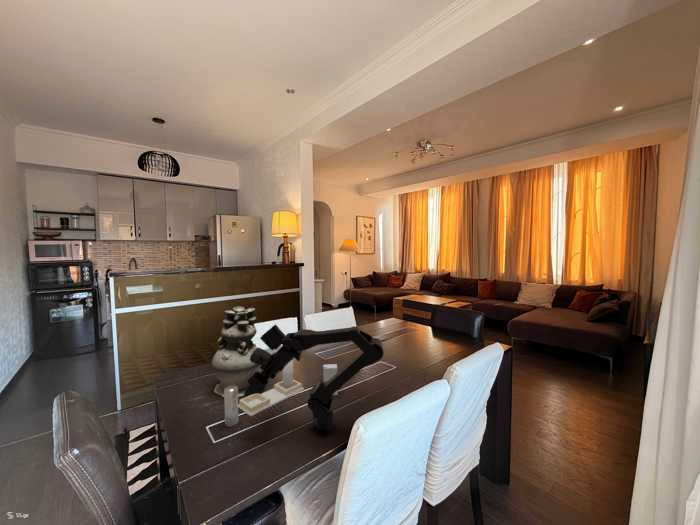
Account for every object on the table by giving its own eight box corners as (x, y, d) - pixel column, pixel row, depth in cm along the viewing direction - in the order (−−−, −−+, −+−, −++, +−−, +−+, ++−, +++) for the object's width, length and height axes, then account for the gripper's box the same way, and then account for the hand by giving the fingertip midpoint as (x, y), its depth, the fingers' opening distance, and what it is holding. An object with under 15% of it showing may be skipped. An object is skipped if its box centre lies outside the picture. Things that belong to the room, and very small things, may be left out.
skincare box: (337, 390, 123) (337, 363, 122) (338, 395, 118) (338, 367, 117) (323, 391, 122) (323, 363, 121) (323, 396, 118) (323, 368, 117)
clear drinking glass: (240, 422, 100) (240, 388, 100) (228, 428, 97) (227, 393, 96) (234, 417, 103) (233, 384, 102) (222, 423, 100) (221, 388, 99)
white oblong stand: (303, 389, 123) (303, 360, 122) (250, 416, 104) (250, 382, 103) (289, 382, 129) (289, 354, 129) (237, 406, 110) (236, 373, 109)
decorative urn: (272, 383, 130) (273, 308, 128) (232, 404, 112) (233, 316, 110) (241, 371, 141) (242, 302, 139) (200, 389, 122) (201, 309, 121)
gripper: (274, 333, 106) (246, 360, 108) (253, 352, 88) (220, 384, 89) (295, 354, 106) (266, 381, 108) (278, 378, 88) (244, 410, 89)
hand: (250, 388), depth 99 cm, fingers open, 9 cm apart
